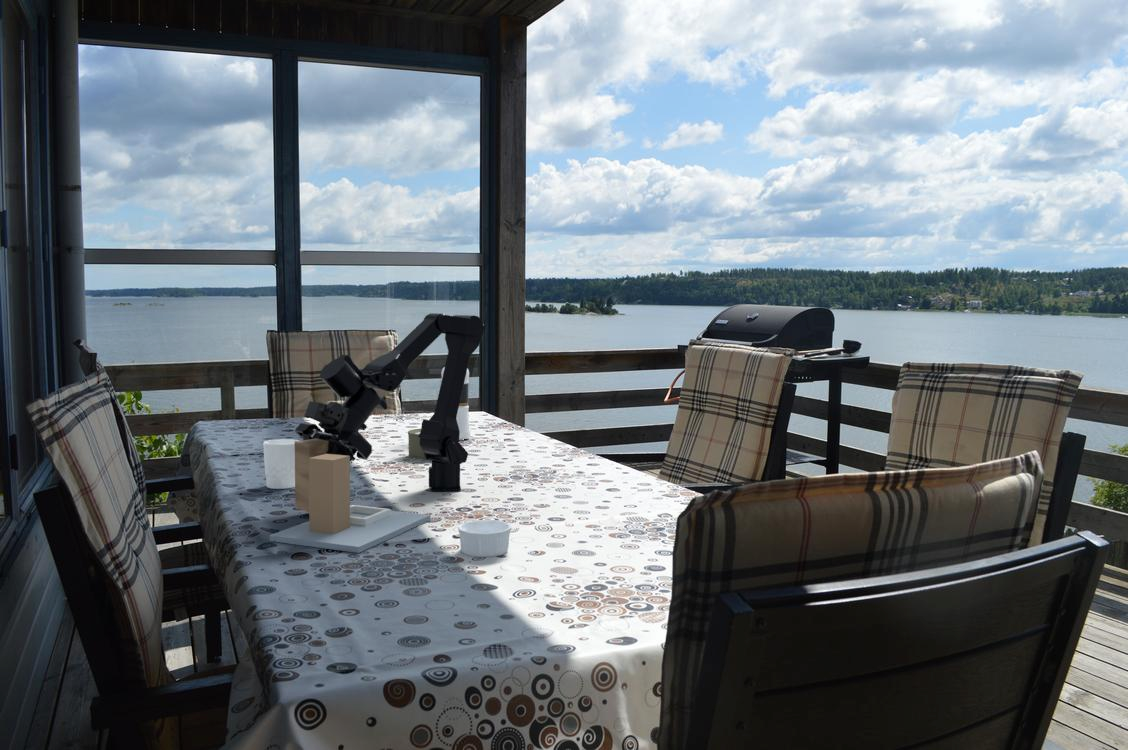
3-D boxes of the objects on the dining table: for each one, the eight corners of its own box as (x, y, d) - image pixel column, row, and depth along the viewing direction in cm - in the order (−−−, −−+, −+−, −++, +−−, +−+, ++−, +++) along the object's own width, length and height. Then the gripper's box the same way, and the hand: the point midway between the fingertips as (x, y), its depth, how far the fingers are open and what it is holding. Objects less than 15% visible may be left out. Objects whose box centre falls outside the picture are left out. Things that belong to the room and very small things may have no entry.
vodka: (475, 439, 267) (476, 340, 264) (448, 442, 261) (449, 341, 259) (461, 435, 274) (461, 339, 272) (434, 437, 269) (434, 339, 266)
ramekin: (489, 562, 142) (490, 535, 141) (447, 553, 146) (447, 527, 146) (521, 549, 149) (521, 524, 149) (479, 541, 154) (479, 517, 153)
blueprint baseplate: (350, 511, 174) (350, 441, 173) (430, 520, 168) (430, 447, 166) (269, 540, 151) (268, 460, 150) (358, 552, 145) (358, 469, 144)
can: (461, 455, 239) (461, 430, 238) (432, 462, 229) (432, 436, 228) (428, 451, 245) (428, 426, 245) (398, 457, 235) (398, 431, 235)
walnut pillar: (317, 503, 174) (317, 438, 173) (332, 507, 171) (331, 441, 169) (295, 507, 170) (294, 441, 169) (309, 512, 167) (309, 445, 166)
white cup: (266, 491, 191) (266, 445, 190) (261, 484, 198) (260, 440, 197) (303, 488, 194) (303, 443, 194) (297, 481, 201) (296, 438, 201)
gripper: (302, 382, 177) (253, 443, 170) (358, 389, 165) (308, 455, 158) (336, 417, 184) (290, 477, 177) (392, 427, 172) (345, 491, 164)
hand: (307, 474), depth 169 cm, fingers closed on walnut pillar, 5 cm apart
